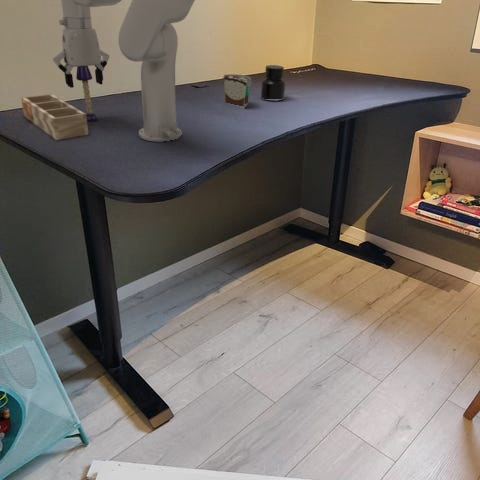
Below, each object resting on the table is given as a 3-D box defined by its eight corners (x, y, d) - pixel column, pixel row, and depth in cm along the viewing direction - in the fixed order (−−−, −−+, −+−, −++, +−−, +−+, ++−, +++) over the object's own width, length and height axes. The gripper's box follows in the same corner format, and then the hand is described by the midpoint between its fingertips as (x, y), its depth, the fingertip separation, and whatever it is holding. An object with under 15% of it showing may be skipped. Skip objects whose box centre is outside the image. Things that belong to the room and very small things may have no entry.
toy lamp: (89, 122, 147) (82, 67, 138) (78, 120, 149) (71, 65, 140) (100, 119, 150) (94, 65, 142) (90, 116, 152) (83, 62, 144)
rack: (88, 134, 137) (86, 114, 134) (54, 140, 132) (51, 119, 129) (54, 112, 154) (51, 93, 151) (23, 116, 149) (19, 97, 146)
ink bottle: (288, 99, 183) (291, 67, 177) (276, 103, 177) (279, 70, 171) (268, 94, 188) (270, 63, 182) (255, 98, 182) (257, 66, 176)
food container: (257, 106, 172) (259, 78, 167) (246, 109, 168) (247, 81, 163) (233, 99, 179) (234, 72, 174) (222, 102, 175) (222, 74, 170)
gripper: (52, 26, 128) (62, 91, 137) (111, 24, 137) (116, 84, 146) (43, 23, 132) (52, 85, 141) (100, 21, 142) (106, 79, 151)
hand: (85, 85), depth 144 cm, fingers open, 8 cm apart
